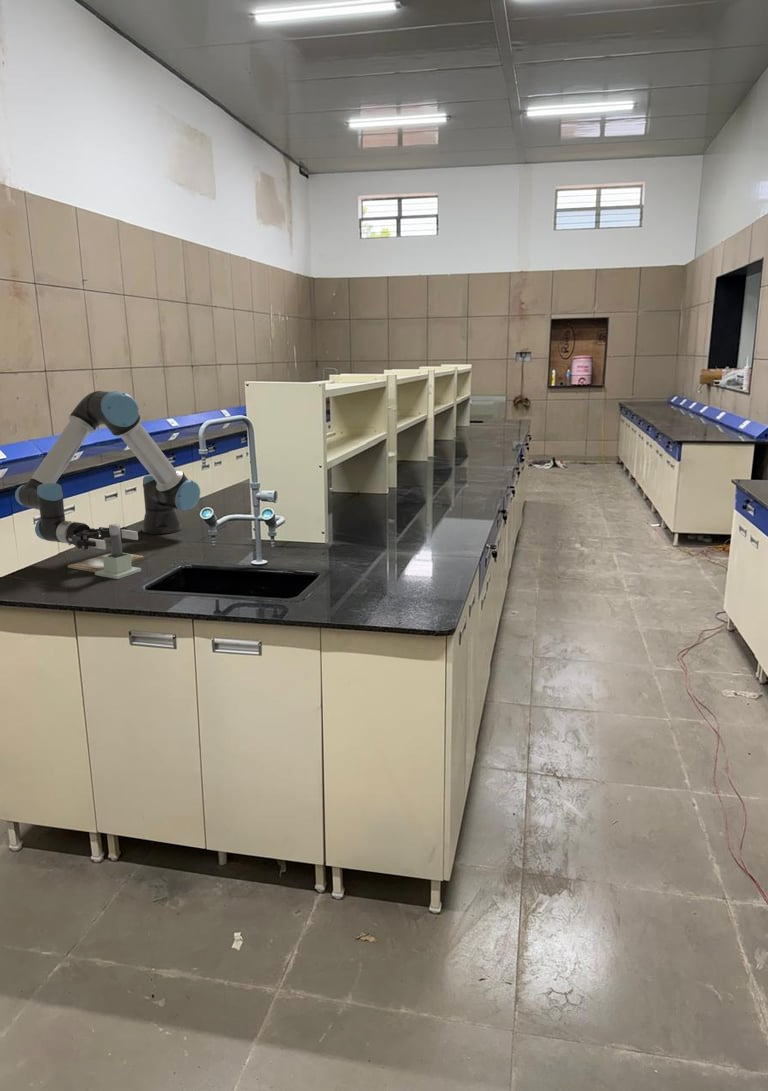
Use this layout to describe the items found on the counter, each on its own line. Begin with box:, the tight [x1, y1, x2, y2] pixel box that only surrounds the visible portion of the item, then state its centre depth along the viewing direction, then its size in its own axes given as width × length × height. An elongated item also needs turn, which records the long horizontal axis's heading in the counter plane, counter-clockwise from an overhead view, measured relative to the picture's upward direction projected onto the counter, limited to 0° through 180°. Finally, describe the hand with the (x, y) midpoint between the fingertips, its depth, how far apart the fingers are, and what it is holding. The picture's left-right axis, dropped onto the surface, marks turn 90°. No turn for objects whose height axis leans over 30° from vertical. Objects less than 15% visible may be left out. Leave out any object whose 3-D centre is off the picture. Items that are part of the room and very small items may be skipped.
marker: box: [108, 523, 123, 558], centre depth 236 cm, size 3×3×15 cm
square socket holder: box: [94, 552, 142, 580], centre depth 238 cm, size 10×10×6 cm
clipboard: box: [67, 551, 144, 573], centre depth 250 cm, size 20×14×2 cm
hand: (121, 540), depth 235 cm, fingers open, 13 cm apart
